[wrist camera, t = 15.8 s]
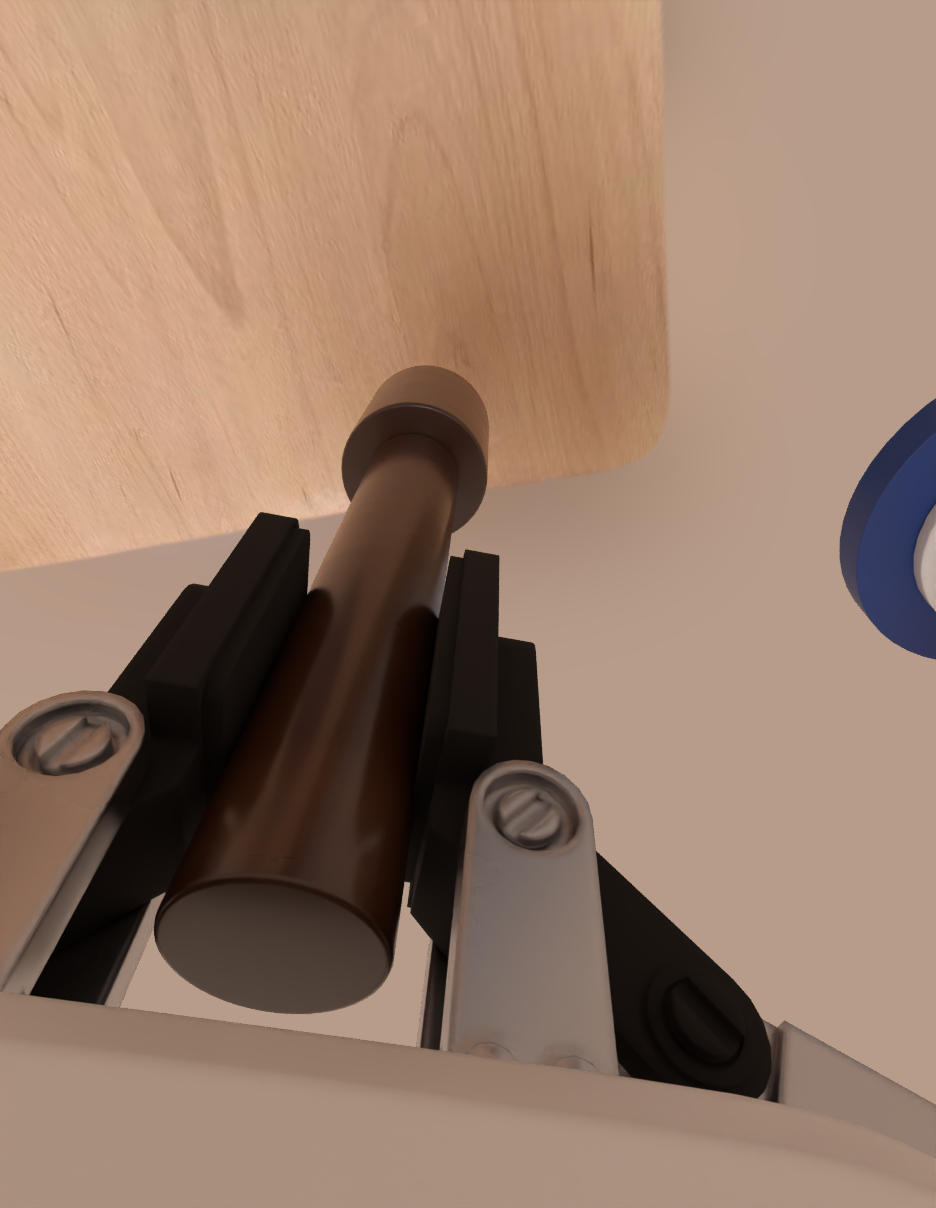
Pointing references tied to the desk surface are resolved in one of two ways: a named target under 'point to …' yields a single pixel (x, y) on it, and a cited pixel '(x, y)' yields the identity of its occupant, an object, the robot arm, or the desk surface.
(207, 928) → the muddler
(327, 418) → the desk surface
